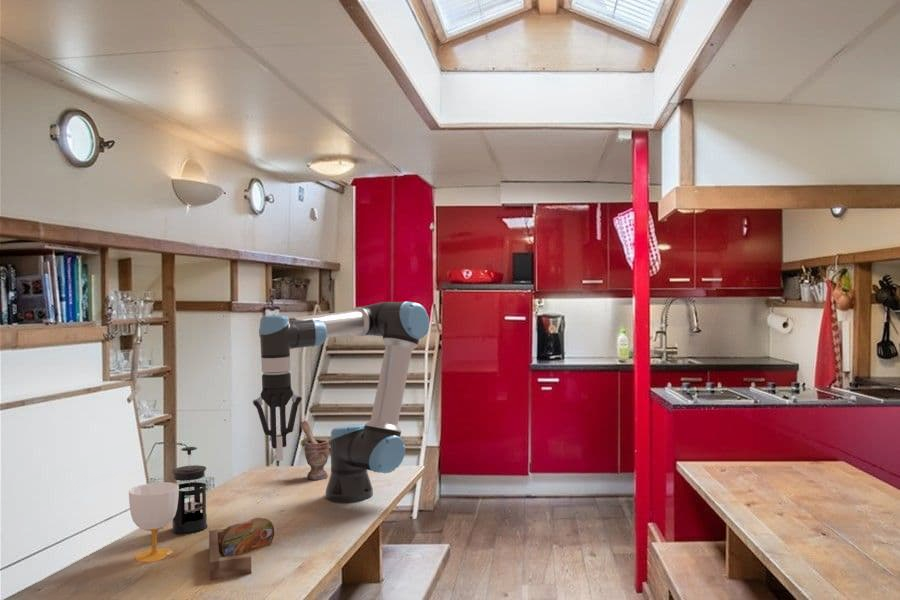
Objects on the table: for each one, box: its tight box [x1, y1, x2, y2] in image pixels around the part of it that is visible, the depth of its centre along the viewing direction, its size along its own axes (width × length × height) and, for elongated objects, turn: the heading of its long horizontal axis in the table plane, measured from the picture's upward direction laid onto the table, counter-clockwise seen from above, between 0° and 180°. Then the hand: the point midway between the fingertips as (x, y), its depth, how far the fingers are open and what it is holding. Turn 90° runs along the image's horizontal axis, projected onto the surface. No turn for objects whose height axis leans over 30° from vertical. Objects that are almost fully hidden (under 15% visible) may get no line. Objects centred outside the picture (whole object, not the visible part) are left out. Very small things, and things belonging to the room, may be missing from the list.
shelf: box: [208, 528, 252, 581], centre depth 164 cm, size 9×22×5 cm, turn 20°
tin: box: [218, 517, 275, 557], centre depth 170 cm, size 15×3×8 cm, turn 139°
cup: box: [128, 481, 180, 563], centre depth 169 cm, size 12×12×17 cm
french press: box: [171, 446, 208, 535], centre depth 188 cm, size 12×9×23 cm
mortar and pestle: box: [300, 420, 330, 481], centre depth 242 cm, size 12×9×20 cm
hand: (279, 459), depth 181 cm, fingers closed
